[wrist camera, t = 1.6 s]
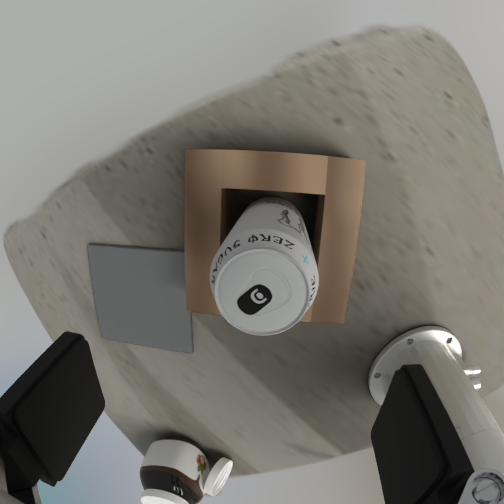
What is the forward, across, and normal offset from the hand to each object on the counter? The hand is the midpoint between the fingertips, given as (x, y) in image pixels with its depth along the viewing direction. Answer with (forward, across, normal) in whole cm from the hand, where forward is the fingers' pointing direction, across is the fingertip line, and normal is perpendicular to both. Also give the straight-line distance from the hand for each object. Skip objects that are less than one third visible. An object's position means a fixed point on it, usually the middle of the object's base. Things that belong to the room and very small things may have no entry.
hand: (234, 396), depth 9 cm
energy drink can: (+23, 0, 0) cm, 23 cm away
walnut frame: (+23, 0, 0) cm, 23 cm away
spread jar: (+23, +8, +36) cm, 44 cm away
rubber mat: (+23, +14, +9) cm, 28 cm away
